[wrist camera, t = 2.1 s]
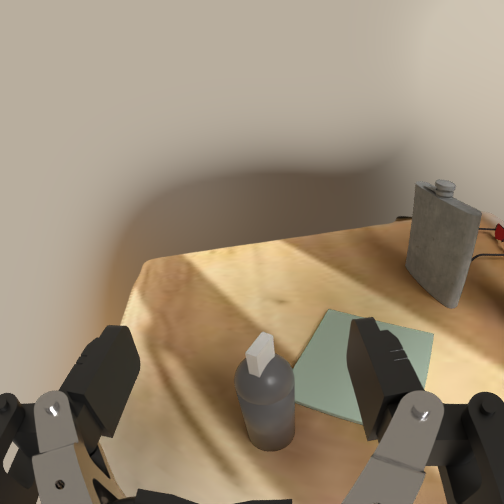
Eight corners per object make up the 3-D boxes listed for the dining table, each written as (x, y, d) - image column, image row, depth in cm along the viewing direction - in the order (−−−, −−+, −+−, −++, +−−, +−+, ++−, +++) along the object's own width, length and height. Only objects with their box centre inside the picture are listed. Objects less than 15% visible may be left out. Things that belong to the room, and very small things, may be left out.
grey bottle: (263, 407, 35) (248, 314, 27) (302, 422, 32) (305, 331, 24) (239, 439, 31) (212, 354, 23) (280, 458, 28) (273, 380, 20)
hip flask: (460, 305, 44) (488, 198, 34) (445, 311, 44) (472, 200, 34) (413, 261, 58) (425, 168, 48) (399, 265, 57) (409, 169, 48)
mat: (328, 311, 49) (328, 308, 48) (432, 336, 40) (433, 333, 39) (277, 396, 36) (276, 393, 36) (410, 437, 27) (412, 435, 27)
